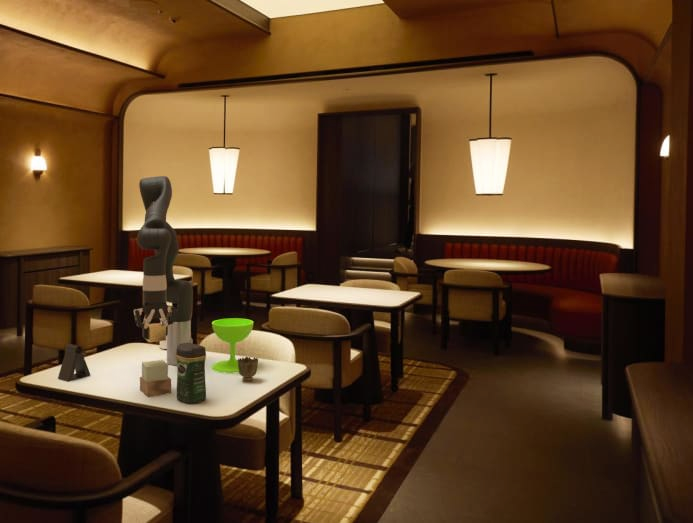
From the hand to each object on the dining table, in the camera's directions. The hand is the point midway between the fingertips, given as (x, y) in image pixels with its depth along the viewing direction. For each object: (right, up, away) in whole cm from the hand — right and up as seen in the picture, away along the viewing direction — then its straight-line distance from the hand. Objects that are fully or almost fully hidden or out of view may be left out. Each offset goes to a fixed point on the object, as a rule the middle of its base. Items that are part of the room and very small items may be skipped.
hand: (155, 338), depth 198 cm
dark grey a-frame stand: (-35, -17, +16) cm, 42 cm away
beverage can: (-14, -13, +62) cm, 65 cm away
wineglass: (+20, -16, +34) cm, 42 cm away
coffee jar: (+14, -20, -5) cm, 24 cm away
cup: (+28, -18, +17) cm, 37 cm away
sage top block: (-1, -14, +1) cm, 14 cm away
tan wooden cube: (0, -1, 0) cm, 1 cm away
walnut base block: (0, -19, +2) cm, 19 cm away
